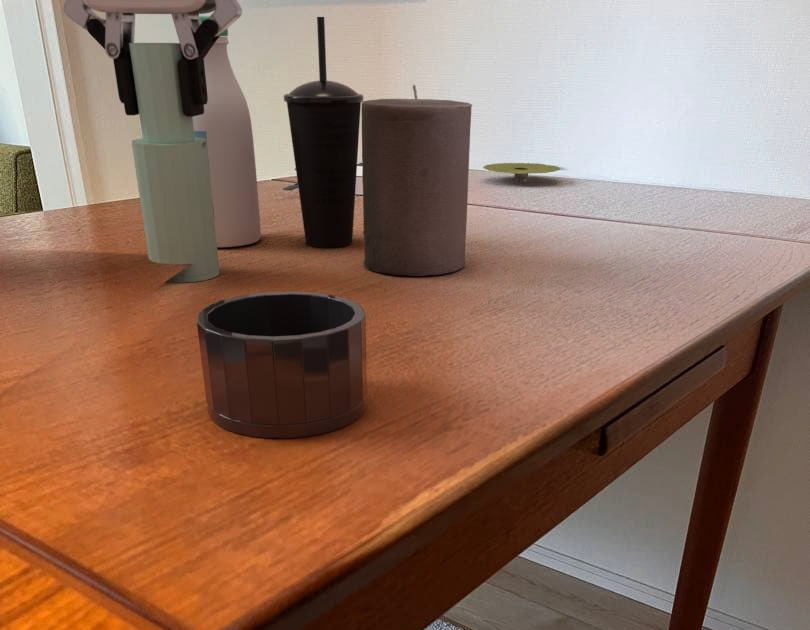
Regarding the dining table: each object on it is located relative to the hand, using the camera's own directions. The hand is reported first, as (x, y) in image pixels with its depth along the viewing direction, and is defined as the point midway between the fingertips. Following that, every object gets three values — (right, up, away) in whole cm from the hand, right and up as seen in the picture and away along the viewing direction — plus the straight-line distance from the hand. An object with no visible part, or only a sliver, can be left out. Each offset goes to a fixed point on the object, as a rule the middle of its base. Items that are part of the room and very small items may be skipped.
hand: (165, 111), depth 69 cm
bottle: (0, -11, +7) cm, 13 cm away
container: (+11, +14, +49) cm, 52 cm away
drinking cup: (+12, -4, +19) cm, 22 cm away
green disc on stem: (+37, +18, +55) cm, 69 cm away
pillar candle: (+21, -9, +11) cm, 25 cm away
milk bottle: (+1, -4, +19) cm, 19 cm away
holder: (+13, -27, -20) cm, 36 cm away
